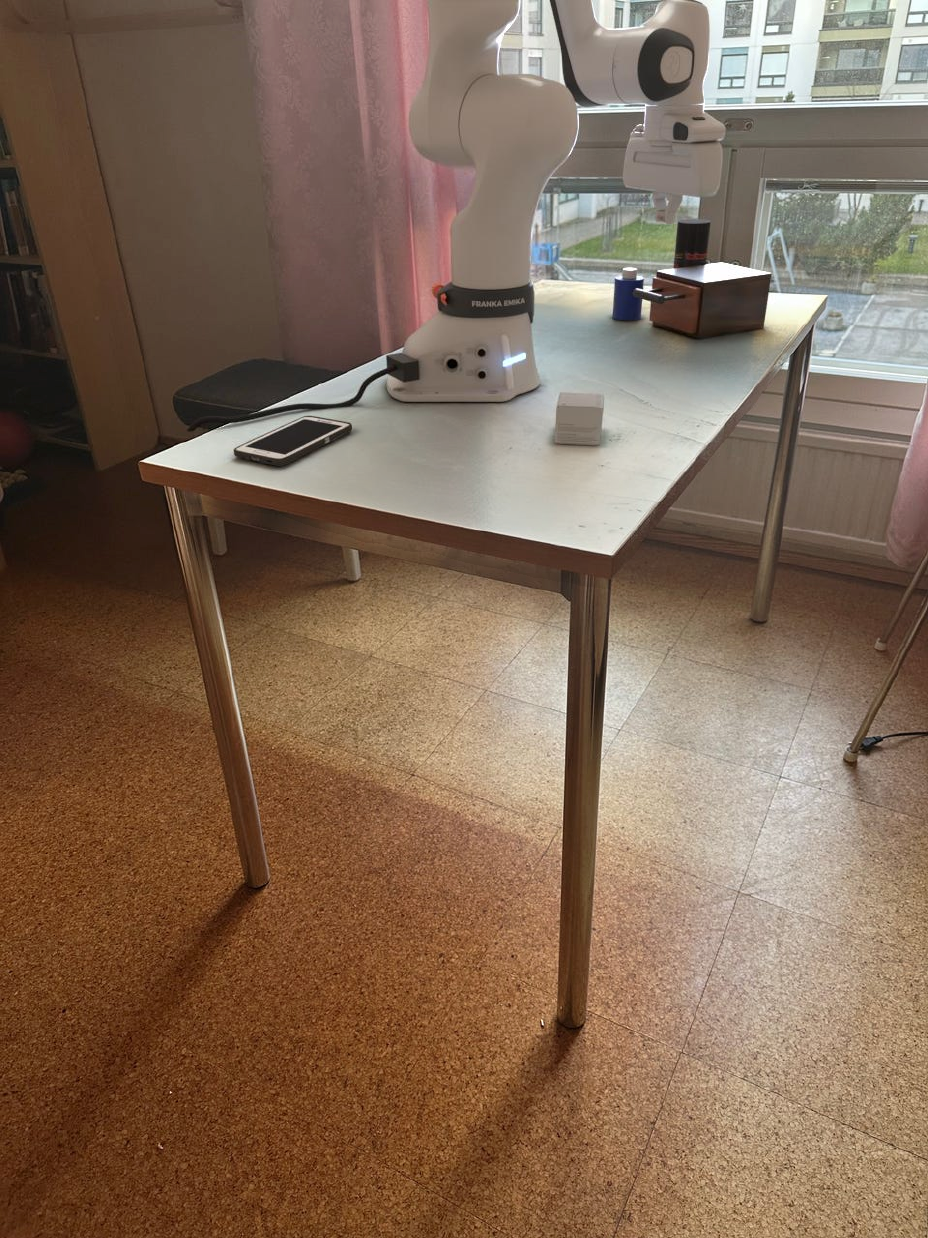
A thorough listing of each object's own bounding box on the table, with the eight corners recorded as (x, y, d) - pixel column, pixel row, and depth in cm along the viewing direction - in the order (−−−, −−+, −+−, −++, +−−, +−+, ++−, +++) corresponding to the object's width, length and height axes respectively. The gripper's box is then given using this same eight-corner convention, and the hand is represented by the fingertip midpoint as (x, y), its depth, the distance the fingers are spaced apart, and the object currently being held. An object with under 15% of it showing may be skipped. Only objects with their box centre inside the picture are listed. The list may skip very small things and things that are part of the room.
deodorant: (704, 308, 173) (713, 222, 166) (672, 308, 173) (680, 223, 166) (698, 301, 178) (706, 218, 171) (667, 301, 179) (675, 219, 171)
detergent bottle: (616, 321, 166) (619, 272, 161) (609, 314, 170) (612, 266, 166) (644, 319, 166) (648, 270, 162) (636, 313, 171) (639, 265, 166)
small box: (600, 446, 110) (603, 406, 108) (553, 444, 111) (554, 405, 109) (602, 430, 115) (604, 392, 113) (557, 428, 116) (558, 390, 114)
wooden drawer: (663, 338, 151) (668, 292, 147) (622, 324, 160) (625, 280, 156) (752, 323, 158) (758, 279, 155) (708, 311, 167) (713, 269, 163)
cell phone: (231, 457, 109) (229, 449, 109) (307, 421, 120) (306, 414, 120) (281, 468, 106) (280, 460, 105) (355, 430, 117) (354, 422, 116)
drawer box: (698, 338, 154) (704, 282, 149) (652, 324, 163) (656, 270, 159) (763, 327, 159) (771, 273, 155) (715, 314, 169) (721, 262, 164)
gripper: (616, 124, 147) (611, 217, 154) (700, 129, 132) (690, 232, 139) (647, 122, 150) (641, 214, 157) (733, 127, 134) (722, 228, 141)
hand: (665, 222), depth 148 cm, fingers closed
